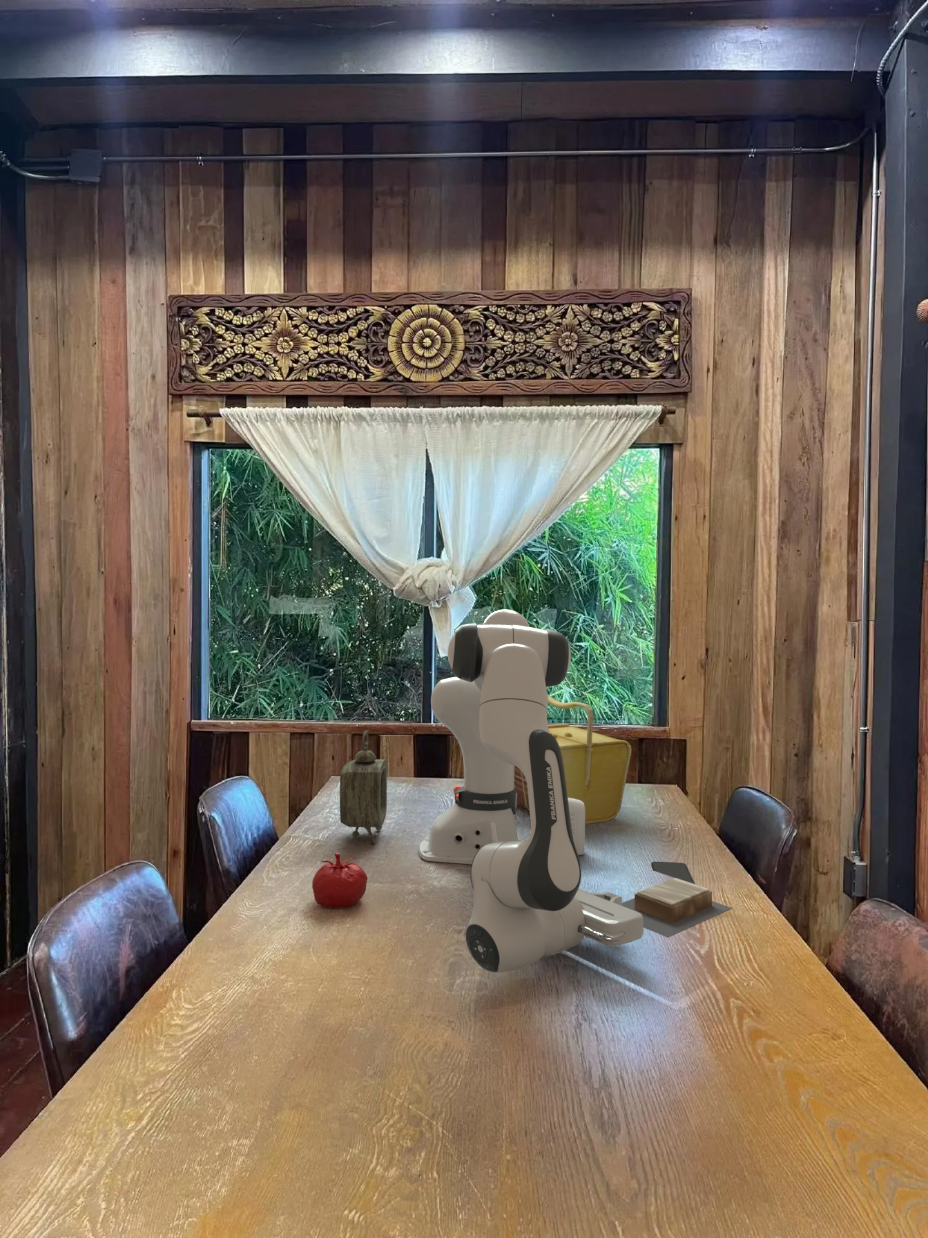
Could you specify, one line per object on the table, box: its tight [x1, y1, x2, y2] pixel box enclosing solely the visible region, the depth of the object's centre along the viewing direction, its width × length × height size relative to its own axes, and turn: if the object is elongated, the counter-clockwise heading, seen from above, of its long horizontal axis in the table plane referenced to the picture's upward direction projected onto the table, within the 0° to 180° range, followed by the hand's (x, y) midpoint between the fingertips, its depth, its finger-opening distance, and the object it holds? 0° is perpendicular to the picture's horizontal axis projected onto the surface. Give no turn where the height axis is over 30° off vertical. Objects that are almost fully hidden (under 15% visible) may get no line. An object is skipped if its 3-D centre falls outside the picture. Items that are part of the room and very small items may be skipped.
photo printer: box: [568, 798, 586, 856], centre depth 172 cm, size 10×4×12 cm, turn 98°
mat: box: [621, 897, 733, 938], centre depth 140 cm, size 19×14×1 cm
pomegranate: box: [311, 852, 368, 909], centre depth 144 cm, size 10×10×9 cm
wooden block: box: [634, 878, 713, 923], centre depth 141 cm, size 3×8×12 cm
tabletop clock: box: [339, 730, 388, 846], centre depth 182 cm, size 14×9×25 cm, turn 179°
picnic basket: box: [514, 695, 632, 825], centre depth 204 cm, size 29×26×30 cm
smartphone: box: [650, 861, 696, 885], centre depth 158 cm, size 7×1×15 cm
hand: (615, 898), depth 131 cm, fingers closed
